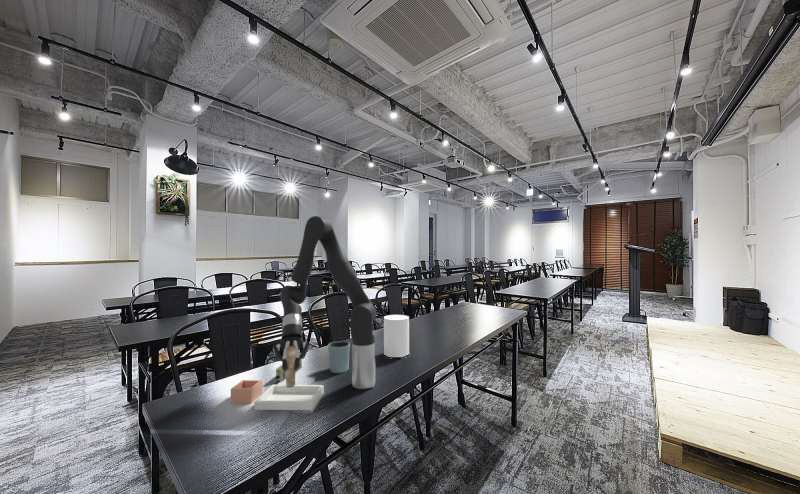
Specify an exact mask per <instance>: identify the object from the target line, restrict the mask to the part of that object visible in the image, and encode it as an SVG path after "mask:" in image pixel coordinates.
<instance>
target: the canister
mask: <svg viewBox="0 0 800 494" xmlns="http://www.w3.org/2000/svg"><path fill="white" fill-rule="evenodd" d="M408 354H409V355H410V316H409V315H405V314H389V315H385V316H383V356H384V355H386V356H388V357H404V356H406V355H408Z"/></svg>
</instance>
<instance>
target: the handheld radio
mask: <svg viewBox="0 0 800 494" xmlns="http://www.w3.org/2000/svg"><path fill="white" fill-rule="evenodd" d="M300 354H301V353H299V355H300ZM302 365H303V359H300V360H299V369H297V371H295V374H296V373H297V372H298V371H299V370H301V369H302V368H303V366H302ZM275 381H276V382H274V383H273V384H277V385H279V383H282V382H284V381H286V372H284V370H282V364H280V366H278V367H277V368H276V369H275ZM273 384H272V385H273ZM272 385H270V386H269V388H270V387H271V386H272Z"/></svg>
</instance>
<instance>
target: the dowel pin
mask: <svg viewBox="0 0 800 494" xmlns="http://www.w3.org/2000/svg"><path fill="white" fill-rule="evenodd" d="M295 359H296V346H288V347H287V348H286V379H285V385H286V387H287V388H292V387H294V386H295V385H296V373H295Z"/></svg>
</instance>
